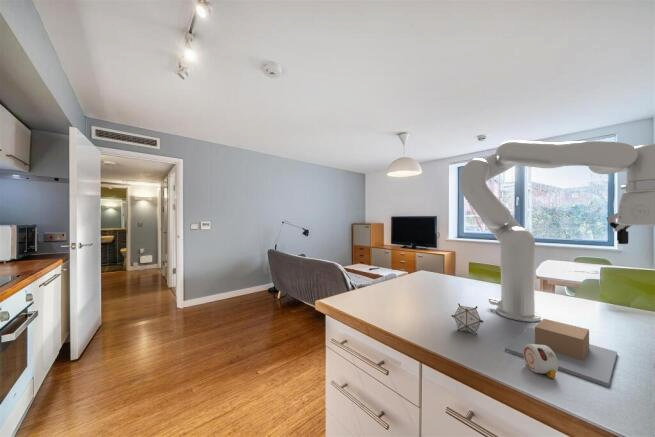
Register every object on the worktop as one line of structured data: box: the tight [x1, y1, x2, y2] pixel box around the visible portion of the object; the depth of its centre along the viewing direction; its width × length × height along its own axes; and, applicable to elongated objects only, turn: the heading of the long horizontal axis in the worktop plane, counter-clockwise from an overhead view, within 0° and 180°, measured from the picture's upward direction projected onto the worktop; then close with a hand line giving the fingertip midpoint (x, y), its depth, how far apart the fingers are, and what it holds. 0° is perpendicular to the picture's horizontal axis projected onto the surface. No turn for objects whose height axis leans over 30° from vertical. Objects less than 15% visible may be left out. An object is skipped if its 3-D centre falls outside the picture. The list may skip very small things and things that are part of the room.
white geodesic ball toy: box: [450, 302, 484, 336], centre depth 76 cm, size 9×8×10 cm
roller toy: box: [523, 344, 559, 379], centre depth 56 cm, size 4×6×6 cm
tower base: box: [504, 318, 618, 388], centre depth 64 cm, size 18×20×6 cm
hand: (645, 245), depth 73 cm, fingers open, 9 cm apart
